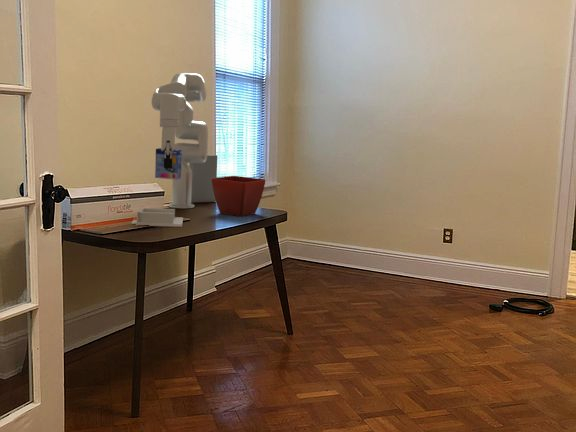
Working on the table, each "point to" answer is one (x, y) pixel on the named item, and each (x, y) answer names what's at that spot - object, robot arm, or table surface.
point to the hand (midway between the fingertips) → (168, 167)
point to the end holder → (158, 217)
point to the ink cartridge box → (168, 172)
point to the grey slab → (203, 179)
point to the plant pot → (237, 194)
